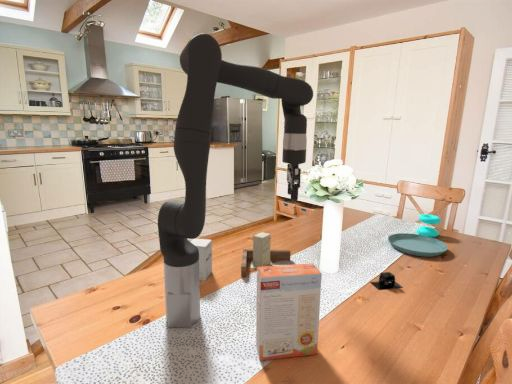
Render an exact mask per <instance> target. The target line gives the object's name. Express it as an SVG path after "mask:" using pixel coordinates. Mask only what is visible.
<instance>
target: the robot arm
mask: <svg viewBox="0 0 512 384" xmlns="http://www.w3.org/2000/svg"><path fill="white" fill-rule="evenodd" d="M179 63H180V68H181V70H182V71H183V72H184V73H185V74H186V75H187V77H186V87H185V92H184V96H183V98H182V101H181V105H180V108H179V112H178V115H177V117H176V121H175V129H174V137H173V152H174V156H175V159H176V162H177V164H178V166H179V168H180V171H181V173H182V176H183V179H184V184H185V185H184V187H185V195H184V200H183V201H182V200H177V199H169V200H166V201H164V202H163V204H162V205H161V207H160V208H159V211H158V213H157V214H158V215H157V230H158V231H157V232H158V233H157V234H158V239H159V240H158V241H159V249H160V252H161V255H162V258H163V267H164V268H163V275H164V297H165V298H164V299H165V315H166V316H165V318H166V319H165V320H166V323H167V327H168V328H192V327H193V325H194V324H196V323H197V322H198V321H199V319H201V294H200V293H201V291H200V290H201V288H200V285H201V284H200V282H201V280H200V279H199V250H198V248H197V247H196V246H195V245H194V244H192V243H191V242H190V241H191V240H192V239H195V238H196V239H198V237H200V235H201V234H202V232H203V230H204V226H205V221H206V213H207V211H206V209H207V208H206V207H207V177H208V165H209V157H210V149H211V144H212V143H211V142H212V132H213V131H212V129H213V119H214V109H215V106H214V105H215V95H216V88H217V83H218V84H224V85H227V86H232V87H236V88H239V89H243V90H246V91H249V92H252V93H255V94H258V95H260V96H264V97H268V98H270V99H278V100H279V99H280V100H281V102H280V103H281V107H282V113H283V117H284V127H283V128H284V129H283V130H284V132H283V133H284V134H283V140H282V162H283V163H285V164H287V165H286V166H287V168H286V182H287V194H288V195H290V200H291V201H298V199H299V189H300V187H301V174H302V172H301V171H302V169H301V168H300V166H299V165H300V164H305V163H306V161H307V145H308V144H307V142H308V141H307V140H308V139H307V128H308V118H307V116H306V115H304V114H302V112H301V107H303V106H306V105H309V104H310V103H311V102H312V100H313V98H314V90H313V87H312V86H311V85H310V84H309V83H308V82H307V81H305V80H302V79H299V78H293V77H288V76H284V75H281V74H278V73H276V72H273V71H271V70H268V69H267V68H263V67H258V66H254V65H245V64H238V63H233V62H230V61H229V62H228V61H225V60H223V54H222V49H221V46H220V44H219V42H218V40H217V39H216V38H215V37H214V36H213V35H211V34H209V33H198V34H196V35H193V37H192V38H191V39H189V41H188V42H187V43H186V45H184V47H183V49H182V51H181V53H180V56H179ZM189 239H190V240H189Z"/></svg>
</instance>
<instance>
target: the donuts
mask: <svg viewBox="0 0 512 384" xmlns="http://www.w3.org/2000/svg"><path fill="white" fill-rule="evenodd" d="M418 220H419V221H420V222H421V223H423V224H426V225H439V224H440V223H441V222H442V220H441V217H440V216H439V215H434V214H430V213H428V214H427V213H423V214H419V215H418ZM426 225H424V226H420V227H418V228H416V232H417V233H416V234H418V235H423V236H427V237H431V238H436V237H439V234H440V232H439V230H437V229H436V228H435V227H431V226H426Z"/></svg>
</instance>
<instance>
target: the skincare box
mask: <svg viewBox="0 0 512 384" xmlns="http://www.w3.org/2000/svg"><path fill="white" fill-rule="evenodd" d="M252 237H253V238H252V241H253V242H252V249H253V260H252V261H253V266H256V267H261V266H266V265H268V264H269V263H270V261H271V260H270V250H271V240H272V237H271V233H268V232H263V231H261V232H259V233H256V234H255V235H253V236H252Z"/></svg>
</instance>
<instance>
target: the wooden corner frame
mask: <svg viewBox="0 0 512 384" xmlns="http://www.w3.org/2000/svg"><path fill="white" fill-rule="evenodd" d="M291 252H292V251H291V250H290V249H270V263H269V264H268V265H266V266H273V261H277V262H280V261H281V262H282V261H283V262H284V261H285V262H291ZM248 261H250V269H251V270H257V267H256V266H253V248H252V249H251V248H250V249H242V255H241V265H240V267H241V268H240V277H241V278H246V277H247V276H246V275H247V262H248Z"/></svg>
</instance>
